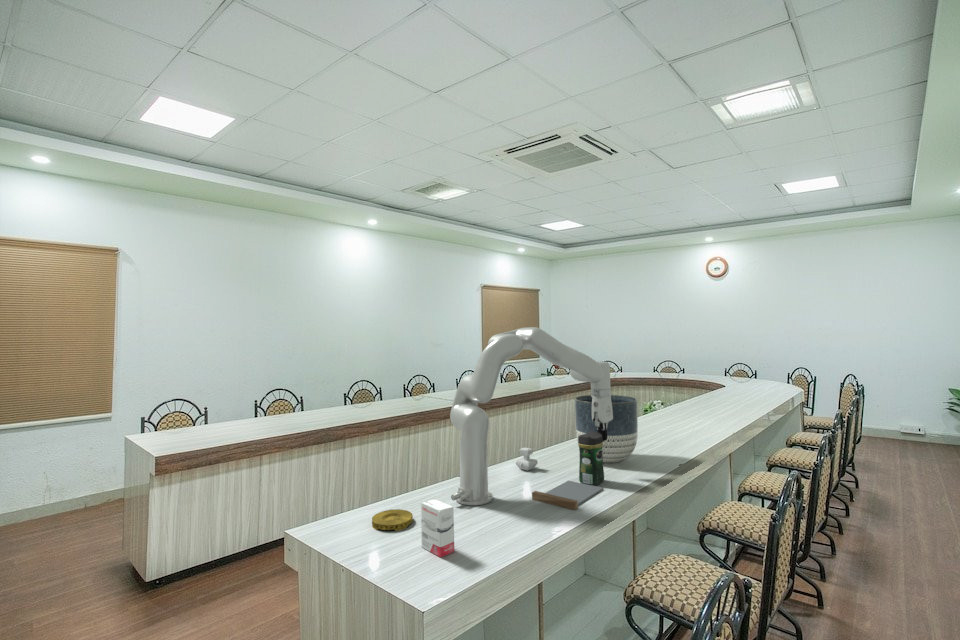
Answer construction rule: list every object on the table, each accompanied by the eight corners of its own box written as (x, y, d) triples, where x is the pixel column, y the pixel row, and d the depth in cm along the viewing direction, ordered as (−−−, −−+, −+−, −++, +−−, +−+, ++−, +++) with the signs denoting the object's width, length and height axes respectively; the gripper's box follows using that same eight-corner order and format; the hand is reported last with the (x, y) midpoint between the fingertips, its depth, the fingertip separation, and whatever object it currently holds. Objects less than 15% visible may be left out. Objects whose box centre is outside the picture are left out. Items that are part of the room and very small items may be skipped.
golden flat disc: (381, 515, 146) (381, 508, 146) (417, 517, 144) (417, 510, 144) (365, 531, 134) (365, 523, 134) (405, 533, 132) (404, 526, 132)
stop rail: (574, 510, 147) (574, 502, 147) (532, 499, 157) (532, 492, 157) (577, 508, 148) (577, 500, 148) (535, 497, 158) (535, 490, 158)
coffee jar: (588, 477, 180) (587, 429, 181) (607, 481, 175) (606, 431, 175) (575, 483, 173) (574, 433, 174) (594, 487, 168) (593, 436, 168)
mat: (575, 507, 149) (575, 505, 149) (538, 498, 158) (538, 496, 158) (603, 489, 166) (603, 487, 166) (568, 482, 174) (568, 480, 174)
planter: (564, 460, 205) (562, 399, 205) (598, 449, 223) (596, 393, 223) (617, 472, 185) (615, 405, 186) (650, 459, 203) (648, 398, 204)
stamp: (527, 473, 187) (526, 452, 187) (513, 470, 191) (513, 449, 191) (539, 468, 193) (539, 447, 194) (526, 465, 198) (526, 445, 198)
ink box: (455, 551, 120) (454, 505, 121) (440, 558, 117) (439, 511, 117) (435, 541, 126) (434, 497, 127) (420, 547, 123) (419, 502, 123)
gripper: (601, 395, 175) (603, 444, 174) (617, 391, 186) (619, 437, 186) (583, 394, 179) (585, 442, 179) (600, 390, 191) (601, 434, 190)
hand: (602, 439), depth 182 cm, fingers closed
